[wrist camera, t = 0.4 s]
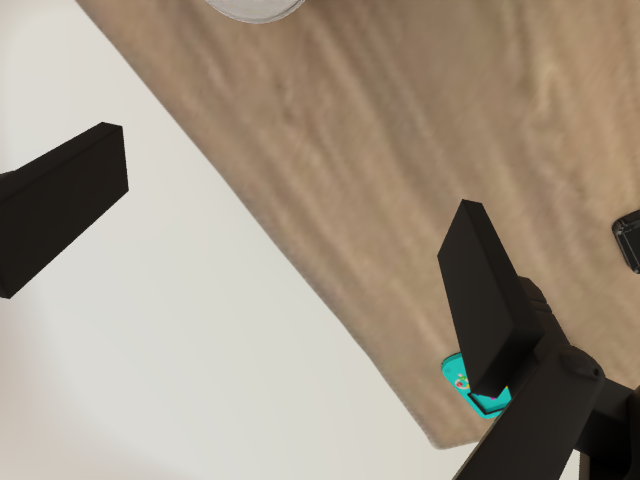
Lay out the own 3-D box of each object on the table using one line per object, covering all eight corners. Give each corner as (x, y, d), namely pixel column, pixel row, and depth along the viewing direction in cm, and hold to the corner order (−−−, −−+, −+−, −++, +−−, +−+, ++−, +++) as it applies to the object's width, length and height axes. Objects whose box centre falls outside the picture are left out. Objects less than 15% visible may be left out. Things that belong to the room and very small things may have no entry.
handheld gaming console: (492, 346, 54) (537, 405, 60) (490, 341, 55) (534, 399, 61) (436, 367, 57) (483, 421, 63) (435, 362, 58) (482, 415, 64)
